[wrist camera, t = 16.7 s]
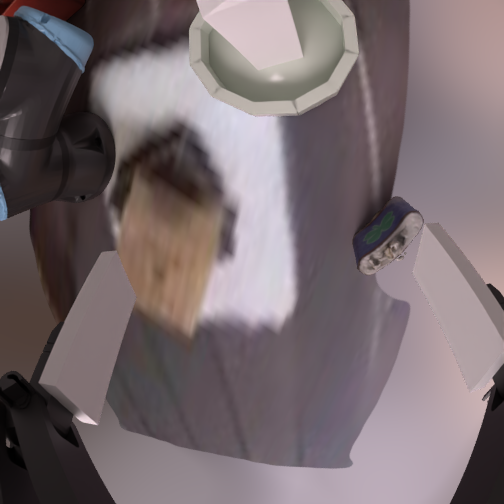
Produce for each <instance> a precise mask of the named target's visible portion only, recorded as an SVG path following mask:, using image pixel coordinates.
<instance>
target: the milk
mask: <svg viewBox="0 0 504 504" xmlns="http://www.w3.org/2000/svg"><path fill="white" fill-rule="evenodd" d="M196 1H197V4H198V7H199V10H200V13H201V16H202V18H203V19H204V20H205V21H206V22H207V23H209V24H210V25H211V26H212V27H213V28H214V29H215V30H216V31H218V32H219V33H220V34H221V35H222V36H223V37H224V38H225V39H226V40H227V41H228V42H230V43H231V44H232V45H233V46H234V47H235V48H236V49H237V50H238V51H239V52H240V53H241V54H242V55H243V56H244V57H245V58H246V59H247V60H248V61H249V62H250V63H251V64H252V65H253V66H254V67H255V68H256V69H257V70H261V69H264V68H268V67H271V66H274V65H278V64H281V63H284V62H288V61H292V60H295V59H299V58H303V53H302V49H301V45H300V41H299V38H298V34H297V30H296V27H295V23H294V20H293V16H292V13H291V10H290V6H289V3H288V0H196Z"/></svg>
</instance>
